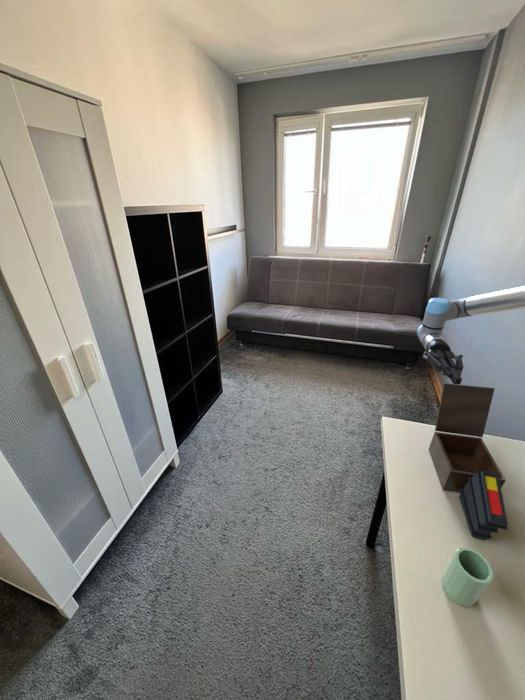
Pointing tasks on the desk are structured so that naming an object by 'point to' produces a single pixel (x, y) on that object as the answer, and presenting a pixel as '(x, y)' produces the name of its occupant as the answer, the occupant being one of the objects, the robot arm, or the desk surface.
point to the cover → (464, 409)
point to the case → (460, 460)
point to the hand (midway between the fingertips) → (458, 382)
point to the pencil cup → (466, 576)
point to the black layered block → (483, 505)
